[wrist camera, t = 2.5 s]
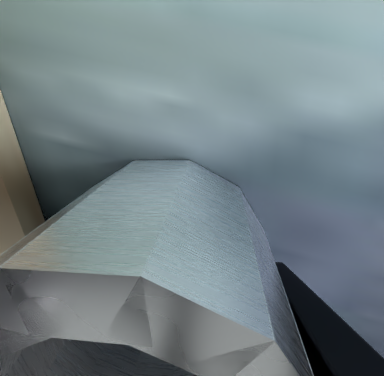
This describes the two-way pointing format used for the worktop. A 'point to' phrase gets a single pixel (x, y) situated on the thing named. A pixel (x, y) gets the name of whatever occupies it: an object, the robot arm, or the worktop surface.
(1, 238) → the post board
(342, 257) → the worktop surface
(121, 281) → the steel ring
